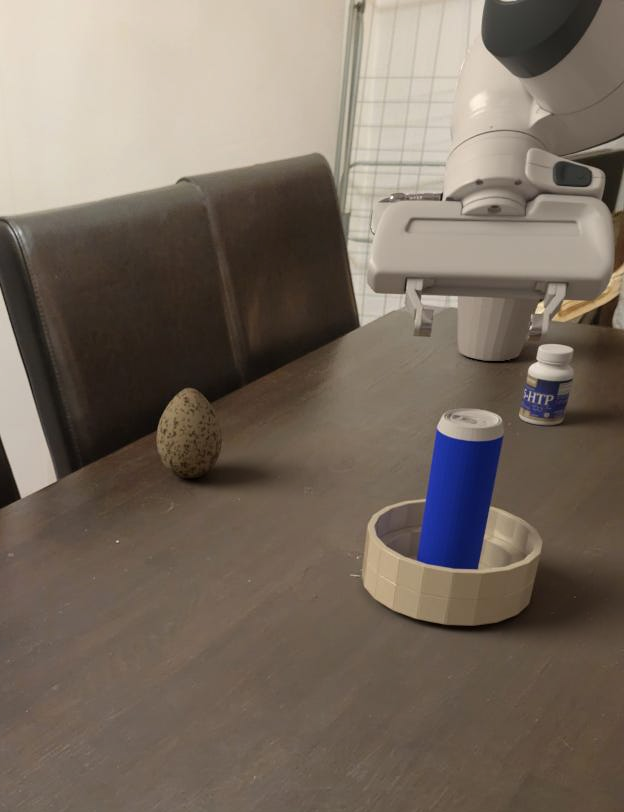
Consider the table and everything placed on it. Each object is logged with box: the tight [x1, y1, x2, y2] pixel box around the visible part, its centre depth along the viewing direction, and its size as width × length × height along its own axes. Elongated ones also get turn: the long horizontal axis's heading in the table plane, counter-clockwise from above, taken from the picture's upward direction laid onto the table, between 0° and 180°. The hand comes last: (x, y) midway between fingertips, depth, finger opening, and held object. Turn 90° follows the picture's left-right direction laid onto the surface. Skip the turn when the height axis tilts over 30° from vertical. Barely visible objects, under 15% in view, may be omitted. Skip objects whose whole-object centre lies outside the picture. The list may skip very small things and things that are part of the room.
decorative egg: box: [156, 387, 223, 479], centre depth 104 cm, size 7×7×10 cm
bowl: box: [361, 498, 544, 627], centre depth 83 cm, size 14×14×6 cm
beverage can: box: [417, 407, 505, 570], centre depth 80 cm, size 5×5×15 cm
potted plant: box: [457, 296, 541, 361], centre depth 139 cm, size 13×14×20 cm
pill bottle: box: [518, 343, 575, 426], centre depth 118 cm, size 5×5×9 cm
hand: (478, 335), depth 82 cm, fingers open, 8 cm apart
